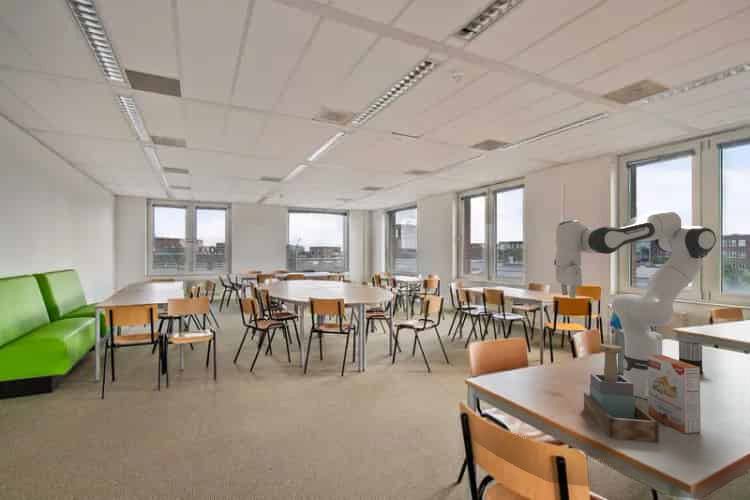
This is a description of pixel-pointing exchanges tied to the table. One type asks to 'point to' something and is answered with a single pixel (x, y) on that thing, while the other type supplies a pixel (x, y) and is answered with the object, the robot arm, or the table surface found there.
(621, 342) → the hard drive box
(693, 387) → the cracker box
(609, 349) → the handle
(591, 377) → the box
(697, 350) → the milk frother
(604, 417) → the bay
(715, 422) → the table surface
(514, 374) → the table surface
